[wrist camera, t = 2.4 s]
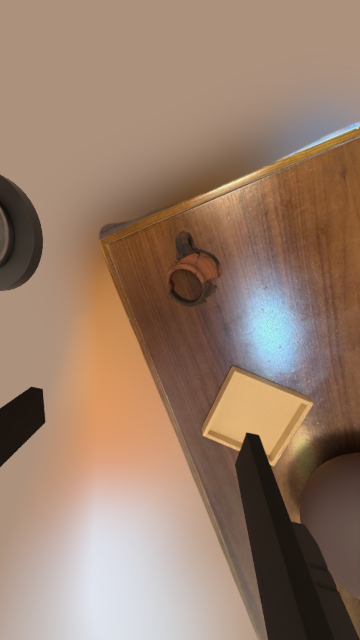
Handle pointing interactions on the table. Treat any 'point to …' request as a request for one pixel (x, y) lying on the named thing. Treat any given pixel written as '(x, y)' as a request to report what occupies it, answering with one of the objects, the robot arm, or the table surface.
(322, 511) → the smooth stone
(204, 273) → the pottery mug
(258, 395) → the wooden tray
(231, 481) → the table surface
